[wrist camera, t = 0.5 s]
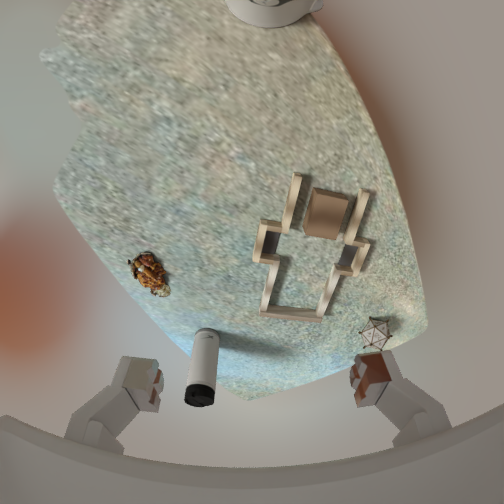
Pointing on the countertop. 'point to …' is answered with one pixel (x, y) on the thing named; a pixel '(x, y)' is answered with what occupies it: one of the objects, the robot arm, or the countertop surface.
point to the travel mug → (203, 369)
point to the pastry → (149, 274)
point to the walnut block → (324, 213)
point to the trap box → (346, 266)
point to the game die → (375, 334)
